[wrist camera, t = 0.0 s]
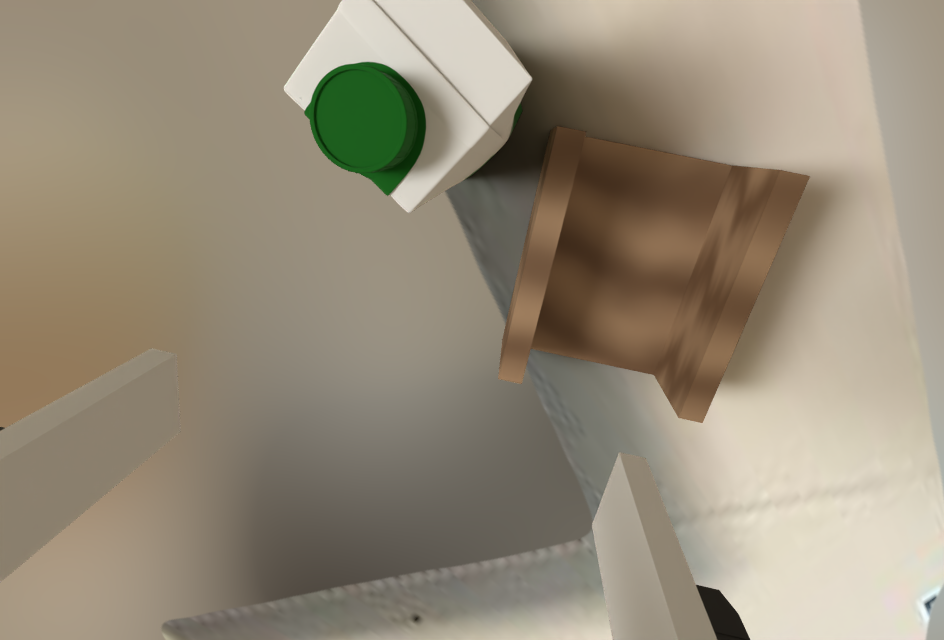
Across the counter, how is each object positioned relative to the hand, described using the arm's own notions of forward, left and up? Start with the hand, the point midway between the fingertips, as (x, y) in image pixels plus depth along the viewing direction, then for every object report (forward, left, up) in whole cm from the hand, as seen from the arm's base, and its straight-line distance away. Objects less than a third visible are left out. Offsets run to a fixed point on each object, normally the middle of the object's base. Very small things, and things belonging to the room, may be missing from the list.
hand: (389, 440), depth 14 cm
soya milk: (-10, -3, -28) cm, 30 cm away
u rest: (-1, +12, -28) cm, 30 cm away
